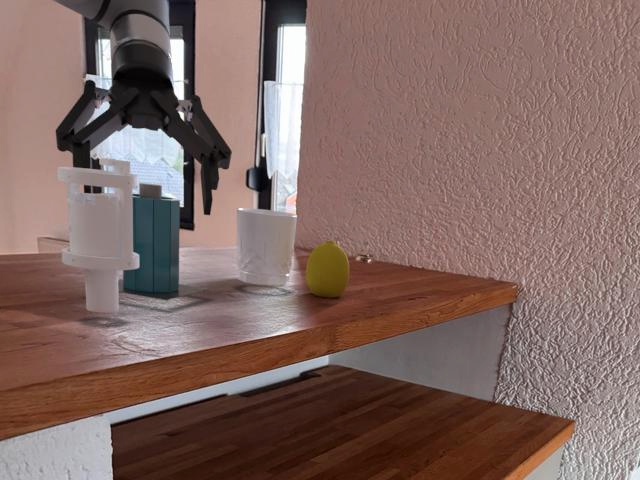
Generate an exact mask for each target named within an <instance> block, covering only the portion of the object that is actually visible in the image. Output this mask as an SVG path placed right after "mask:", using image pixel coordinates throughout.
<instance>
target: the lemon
mask: <svg viewBox="0 0 640 480" xmlns="http://www.w3.org/2000/svg"><path fill="white" fill-rule="evenodd" d="M305 280H306V285H307V287H308V288H309V291H310V292H311V293H312V294H313V295H314V296H316V297H320V298H330V299H331V298H333V299H334V298H338V297H340V296H341V295H342V294H343V293H344V292H345V290H346V288H347V286H348V283H349V280H350V262H349V258H348V255H347V253H346V251H345V250H344V248H343V247H341V246H340V245H338V244H337V243H336V242H335V241H334V240H333V239H328V240H326V242H322V243H320V244H319V245H317V246H315V248H314V249H313V250H311V253H310V254H309V257H308V260H307V263H306V268H305Z"/></svg>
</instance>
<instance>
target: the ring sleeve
mask: <svg viewBox="0 0 640 480" xmlns="http://www.w3.org/2000/svg"><path fill="white" fill-rule="evenodd" d="M132 199H133V252H135V253H137V254H139V268H137V269H133V270H121V274H122V275H121V277H122V279H121V280H122V281H123V287H124V288H127V289H131V290H134V291H142V292H151V293H153V292H154V293H169V292H174V291H178V290H179V284H180V232H181V231H180V230H181V229H180V228H181V227H180V225H181V224H180V223H181V222H180V220H181V216H180V215H181V200H180V199H179V198H177V197H171V196H164V195H162V199H152V198H144V197H139V193H134V192H132Z"/></svg>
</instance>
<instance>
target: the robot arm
mask: <svg viewBox="0 0 640 480" xmlns="http://www.w3.org/2000/svg"><path fill="white" fill-rule="evenodd" d="M52 1H54V2H56V3H57V4H59V5H61V6H63V7H65V8H67V9H69V10H71V11H73V12H75V13H77V14H79V15H81V16H83V17H84V18H87V19H88V20H90V21H92V23H93V22H94V23H96V24H97V25H99V26H101V27H103V28H105V29H107V30H109V47H110V49H109V50H110V72H111V86H110V87H109V88H108V89H106V88H102V87H98V86H97V84H96V82H95V81H94V80H93V79H86V80H85V82H84V88H83V93H82V94H81V95H80V97H79V98H78V100H77V101H76V102H75V104H74V105H73V106H72V108H70V110H69V111H68V112H67V114H66V116H64V118H63V119H62V120H61V122H60V123H59V125H58V126H57V128H56V129H55V140H56V149H57V150H58V151H59V152H62V153H63V152H69V153H71V154H72V167H74V168H86V169H92V160H91V151H93V150H94V149H95V148H96V147H98V146H99V145H100V144H102V143H103V142H104V141H105V140H107V139H108V138H109V137H111V136H112V135H113V134H114V133H116V132H118V133H119V132H121V131H123V129H125V128H126V127H128V126H131V129H136V130H137V129H138V130H139V129H140V130H141V129H146V130H149V131H154V132H159V130H161V131H162V132H163V133H164V134H165V135H166V136H167V137H168V138H169V139H172V138H173V139H174V141H176V142H177V144H179V145H180V146H181V147H182V148H183V149H184V150H185V151H186V152H187V153H188V154H190V155H191V157H193V159H195V160H196V161H197V162H198V163H199V164H200V173H199V174H200V185H201V197H202V206H203V207H202V210H203V215H204V216H211V213H212V206H213V200H214V199H213V191H217V190H218V188H219V183H220V173H219V172H220V171H219V169H222V170H224V171H225V170H226V171H227V170H229V169H230V165H231V161H232V155H233V151H232V149H231V148H230V146H229V145H228V143H227V142H226V141H225V139H224V138H223V136H222V135H221V133H220V132H219V130H218V129H217V127H216V126H215V125H214V123H213V121H212V120H211V119H210V117H209V116H208V115H207V113H206V111H205V110H204V108H203V104H202V99H201V97H200V96H199V95H197V94H192V95H191V96H190V99H179V98H178V97H177V95H176V93H175V81H174V71H173V58H172V56H173V55H172V45H171V31H170V2H169V0H52ZM104 103H108V105H109V107H108V109H106V110H105V111H103V112H102V113H101V114H100V115H98V116H97V117H96V118H94V119H93V120H92V121H90V120H91V119H92V117H93V116H94V114H95V111H96V110H99V109H100V108H101V106H102V105H103V104H104ZM181 113H182V114H183V115H184V116H185V117H186V121H188V122H190V123H191V125H192V127H193V128H192V127H191V126H190V125H189V124H188V123H187V122H186V121H185V120H184V119H183V118H182V116H181ZM89 121H90V122H89ZM88 122H89V123H88ZM83 193H90V194H92V186H90V185H83Z"/></svg>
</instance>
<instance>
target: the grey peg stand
mask: <svg viewBox="0 0 640 480" xmlns="http://www.w3.org/2000/svg"><path fill="white" fill-rule="evenodd" d="M162 187H163V185H161V184H156V183H150V182H149V183H148V182H139V188H138V194H139V197H144V198H152V199H162V196H163V192H162V191H163V189H162ZM118 291H119V292H118V293H122V294H128V295H135V296H139V297H146V298H151V299H157V300H163V301H170V300H174V299H177V298H181V297H186V296H189V295H192V294H193V295H194V294H196V293H201V292H205V291H209V288H206V287H200V286H193V285H189V284H188V285H187V284H181V283H179V290H178V291H174V292H169V293H154V292H153V293H151V292H142V291H134V290H131V289H127V288H124V287H123V281H122V279H118Z"/></svg>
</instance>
